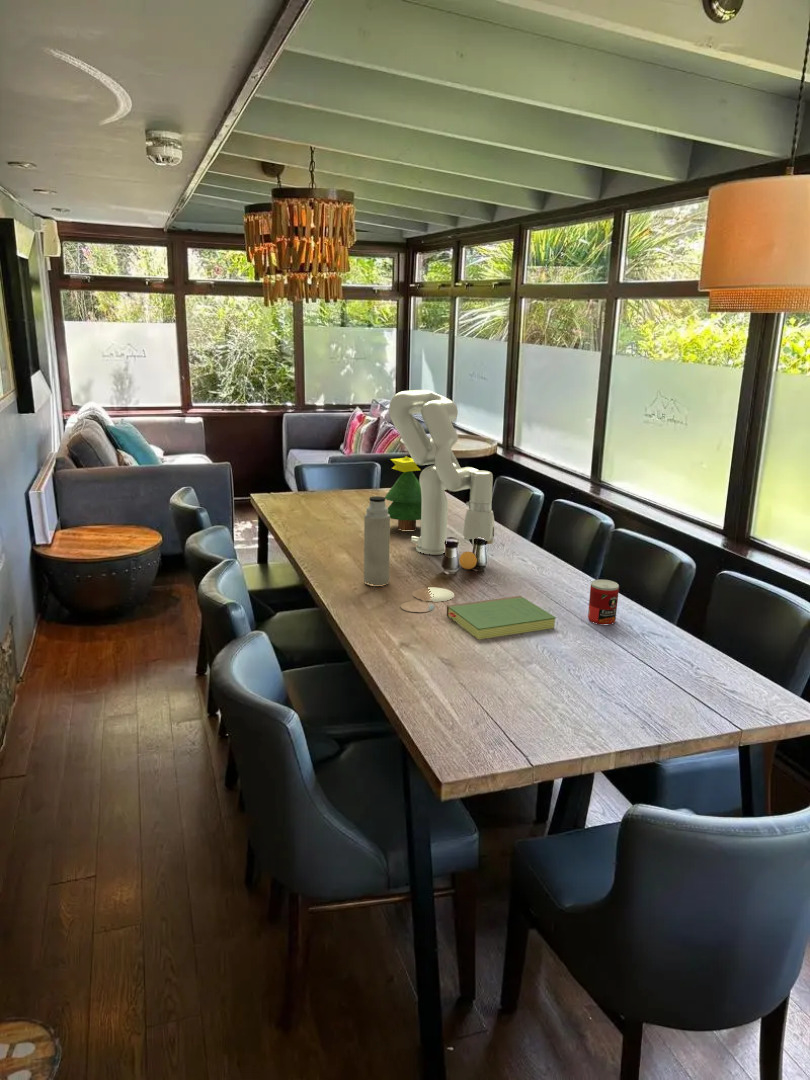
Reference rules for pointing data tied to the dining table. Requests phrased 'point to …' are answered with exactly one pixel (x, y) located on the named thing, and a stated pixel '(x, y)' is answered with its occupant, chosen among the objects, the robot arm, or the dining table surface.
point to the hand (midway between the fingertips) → (478, 557)
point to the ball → (468, 560)
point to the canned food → (603, 601)
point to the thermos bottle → (376, 542)
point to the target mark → (440, 594)
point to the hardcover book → (500, 617)
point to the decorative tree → (405, 495)
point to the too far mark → (431, 607)
